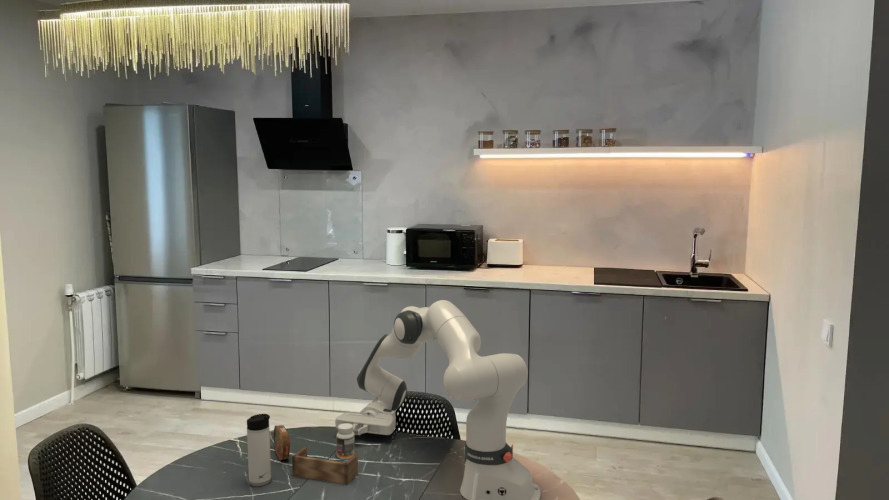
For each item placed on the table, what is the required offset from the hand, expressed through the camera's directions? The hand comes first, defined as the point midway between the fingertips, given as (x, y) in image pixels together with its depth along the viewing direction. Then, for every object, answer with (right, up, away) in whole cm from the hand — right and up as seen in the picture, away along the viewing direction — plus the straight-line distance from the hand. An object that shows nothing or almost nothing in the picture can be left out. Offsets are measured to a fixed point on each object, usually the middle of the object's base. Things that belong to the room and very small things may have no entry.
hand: (355, 432), depth 209 cm
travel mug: (-24, -8, -23) cm, 34 cm away
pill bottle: (-2, -6, -6) cm, 9 cm away
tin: (-23, -6, -5) cm, 24 cm away
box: (-6, -7, -18) cm, 21 cm away
